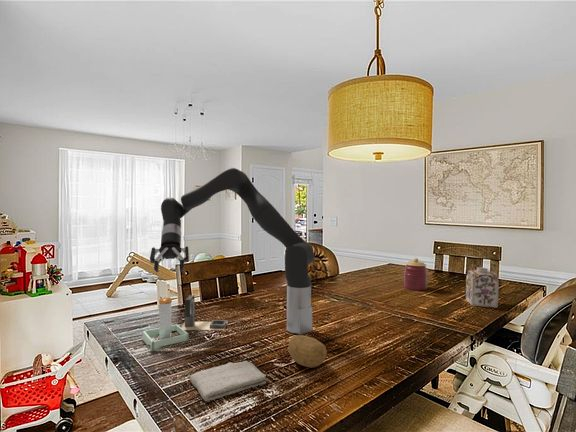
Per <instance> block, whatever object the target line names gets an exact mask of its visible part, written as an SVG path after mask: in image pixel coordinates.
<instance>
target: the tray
mask: <svg viewBox="0 0 576 432" xmlns="http://www.w3.org/2000/svg"><path fill="white" fill-rule="evenodd" d="M174 331H176V332H177V334H179V335H175V336H171V338H166V339H161V340H159V339H158V340H154V339H155V338H156V337H158V336H159V327H156V328H155V327H154V328H152V329H151V328H150V329H146V330H142V339H141V340H142V341H144V343H145V344H146V346H148V345H149V346H148V348H149V349H150V351H151V352H155V351H159V350H164V349H168V348H170V347H169V346H168V345H173V344H178V343H182V342H186V341H189V340H190V334H189V333H188V332H187V330H183V329H182V328H181V326H180V325H179V324H178V323H175V324H171V332H174Z"/></svg>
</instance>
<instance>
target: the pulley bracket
mask: <svg viewBox="0 0 576 432" xmlns="http://www.w3.org/2000/svg"><path fill="white" fill-rule="evenodd" d="M195 303H196V302H195V295H188V297H186V298H185V300H184V322H183V324H181V326H180V327H181V328H182V329H183V330H184V331H224V330H225V329H226V326H227V324H228V321H227V319H225V320H224V319H217V320H216V319H212V320H211V321H195V317H196V315H195V314H196V310H195V308H196V306H195V305H196V304H195Z"/></svg>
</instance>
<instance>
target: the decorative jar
mask: <svg viewBox="0 0 576 432" xmlns="http://www.w3.org/2000/svg"><path fill="white" fill-rule="evenodd" d="M465 279H466V280H465V283H466V284H465V300H466V301H467V302H468V303H469V304H470V305H471V306H472V307H480V308H481V307H484V308H497V309H498V306H499V284H500V283H499V282H500V281H499V277H498V274H497V273H495V272H494V271H490V270H488V268H487V267H479V266H477V267H476V269H470V270H468V271H467V273H466V278H465Z"/></svg>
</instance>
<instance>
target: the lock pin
mask: <svg viewBox="0 0 576 432" xmlns="http://www.w3.org/2000/svg"><path fill="white" fill-rule="evenodd" d="M172 302H173V299H172V298H171V297H162V298H159V299H158V304H159V305H158V310H159V311H158V312H159V315H158V316H159V317H158V320H159V321H158V323H159V325H158V328H159V334H158V336H159V337H158V338H159V339H158V340H161V339H166V338H171V337H172V331H171V325H172Z"/></svg>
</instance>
